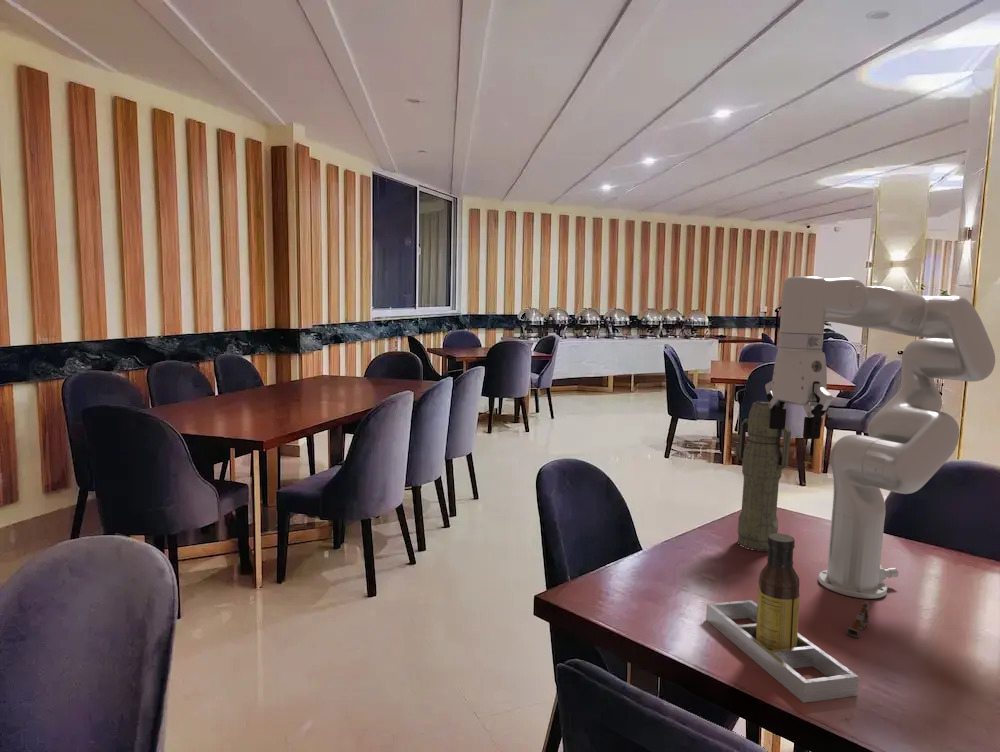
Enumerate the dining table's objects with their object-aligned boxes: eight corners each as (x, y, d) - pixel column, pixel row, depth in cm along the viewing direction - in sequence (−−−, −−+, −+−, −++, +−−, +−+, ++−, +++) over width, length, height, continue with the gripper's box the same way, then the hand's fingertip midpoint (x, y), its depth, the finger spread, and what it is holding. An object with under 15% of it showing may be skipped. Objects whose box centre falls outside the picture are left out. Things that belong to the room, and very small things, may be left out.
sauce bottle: (777, 642, 113) (786, 528, 111) (804, 660, 107) (814, 541, 105) (745, 646, 111) (753, 531, 109) (771, 666, 105) (780, 544, 103)
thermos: (775, 556, 153) (787, 407, 150) (725, 543, 161) (735, 401, 157) (787, 547, 160) (798, 403, 156) (739, 535, 167) (748, 398, 164)
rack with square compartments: (750, 615, 122) (751, 599, 122) (857, 695, 97) (858, 676, 97) (706, 619, 120) (707, 603, 120) (803, 702, 95) (805, 683, 95)
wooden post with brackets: (874, 619, 121) (872, 600, 119) (859, 650, 116) (857, 630, 114) (863, 616, 122) (861, 597, 120) (848, 646, 117) (846, 627, 116)
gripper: (852, 346, 116) (844, 442, 118) (787, 341, 133) (781, 425, 135) (815, 345, 114) (807, 443, 116) (754, 340, 131) (748, 425, 133)
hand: (793, 433), depth 125 cm, fingers open, 9 cm apart
